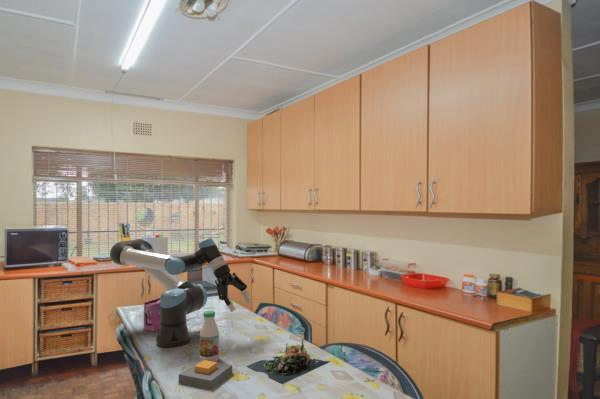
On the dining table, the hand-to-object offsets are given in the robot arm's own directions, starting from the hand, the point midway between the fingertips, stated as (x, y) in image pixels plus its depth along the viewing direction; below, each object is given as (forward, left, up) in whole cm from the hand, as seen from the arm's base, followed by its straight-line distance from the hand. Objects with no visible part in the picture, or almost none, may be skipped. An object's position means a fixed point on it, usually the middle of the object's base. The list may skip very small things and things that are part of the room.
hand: (241, 306), depth 188 cm
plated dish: (+31, -16, -17) cm, 39 cm away
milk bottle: (-1, -25, -16) cm, 30 cm away
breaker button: (+7, -39, -13) cm, 42 cm away
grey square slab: (+7, -39, -16) cm, 43 cm away
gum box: (-51, +7, -16) cm, 54 cm away
